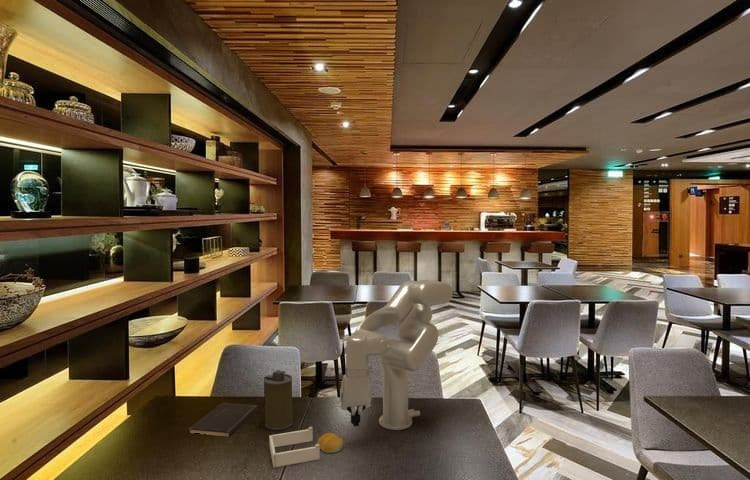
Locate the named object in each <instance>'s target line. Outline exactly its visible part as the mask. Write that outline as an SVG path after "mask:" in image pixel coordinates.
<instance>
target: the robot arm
mask: <svg viewBox="0 0 750 480" xmlns="http://www.w3.org/2000/svg"><path fill="white" fill-rule="evenodd" d="M453 292H454V291H453V287H452V285H451V284H450V283H448V282H445V281H437V280H430V279H429V280H428V279H420V280H405V281H403V282H402V283H401V284H400V285H399V287H398V288H397V290H396V291H395V292H394V293H393V295H392V297H391V298H390V299H389V300H388V302H387V303H386V304H385V306H383V307H381V308H380V309H377V310H375V311H374V312H372V313H371V314H369V315H368V316H366V317H365V318H364V319H363V320H362V321H361V322H360V323H359V325H358V326H357V327H356V328H355V330H354V332H353V333H352V335H349V336H348V337H347V338H346V347H345V348H346V349H345V351H346V352H345V374H343V375H342V379H341V388H340V396H339V397H340V398H339V399H340V402H341V403H340V409H341V410H342V411H348V412H349V413H350V424H352V426H353V427H355V428H356V427H360V423H361V415H362V414H363V413H362V412H363V411H364V410H365V409H367V408H370V407H371V406H372V404H371V403H372V386H371V385H372V384H371V379H370V378H371V377H370V375H369V373H370V372H372V367H370V366H368V364H369V362H368V361H369V357H370V356H380V357H379V358H380V362H381V369H382V414H381V416H380V417H379V418H378V424H379V425H380V427H382V428H384V429H386V430H390V431H401V430H405V429H409V428H410V427H411V426H412V425H413V417H420V416H421V412H420V410H415V409H414V408H411V409H409V376H408V372H417V371H419V370H420V369H421V368H422V367H423V366H424V364H425V363H426V362H427V359H428V358H429V356H430V355H431V354H432V352H433V350H434V349H435V347H436V345H437V342H438V341H439V330H438V328H437V326H436V325H435V324H433V323H431V321H432V318H433V312H432V308H431V306H436V305H445V304H448V303H449V302H450V301H451V300H452V298H453V296H454V295H453V294H454V293H453ZM401 322H402V324H401V325H400V326H399V328H398V331H397V336H398V339H395V338H390V339H389V338H388V337H387V336H386V335H384V334H382V333H379V332H376V331H377V330H379V329H380V328H383V327H386V326H390V325H391V326H392V325H396V324H398V323H401ZM407 371H408V372H407ZM355 407H356V409H355Z"/></svg>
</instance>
